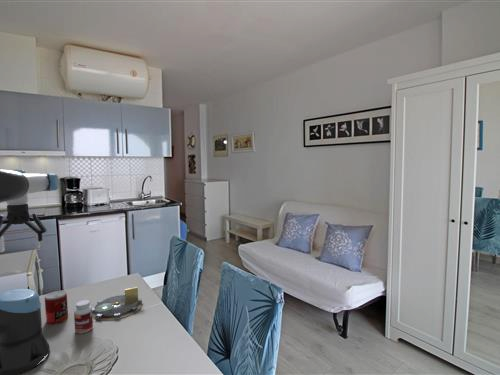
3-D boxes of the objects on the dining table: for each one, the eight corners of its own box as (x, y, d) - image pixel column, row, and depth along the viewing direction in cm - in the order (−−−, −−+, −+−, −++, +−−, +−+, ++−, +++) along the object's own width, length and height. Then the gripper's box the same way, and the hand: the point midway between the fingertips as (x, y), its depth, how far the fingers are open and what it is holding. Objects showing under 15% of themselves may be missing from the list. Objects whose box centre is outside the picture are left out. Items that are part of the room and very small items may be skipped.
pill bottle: (73, 335, 110) (71, 307, 109) (77, 326, 116) (75, 300, 115) (91, 332, 112) (89, 305, 111) (94, 324, 118) (93, 298, 117)
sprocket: (143, 312, 126) (143, 295, 125) (89, 324, 117) (87, 306, 116) (139, 293, 145) (139, 278, 144) (92, 302, 136) (91, 286, 135)
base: (143, 313, 126) (143, 313, 126) (89, 325, 117) (89, 324, 117) (139, 294, 145) (139, 293, 145) (92, 303, 136) (92, 302, 136)
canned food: (57, 325, 117) (55, 299, 117) (41, 323, 119) (39, 297, 118) (72, 315, 125) (71, 291, 124) (57, 313, 126) (55, 289, 126)
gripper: (52, 201, 138) (55, 244, 139) (-13, 204, 129) (-10, 250, 131) (47, 203, 131) (50, 248, 132) (-22, 206, 122) (-18, 255, 124)
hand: (20, 249), depth 132 cm, fingers open, 13 cm apart
